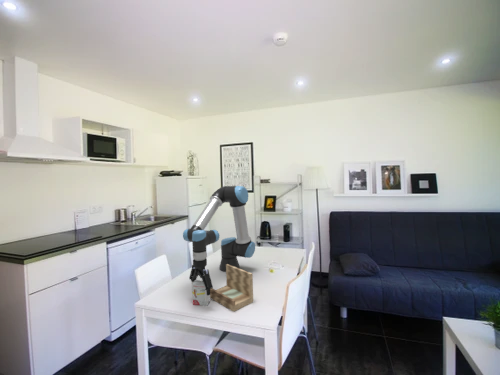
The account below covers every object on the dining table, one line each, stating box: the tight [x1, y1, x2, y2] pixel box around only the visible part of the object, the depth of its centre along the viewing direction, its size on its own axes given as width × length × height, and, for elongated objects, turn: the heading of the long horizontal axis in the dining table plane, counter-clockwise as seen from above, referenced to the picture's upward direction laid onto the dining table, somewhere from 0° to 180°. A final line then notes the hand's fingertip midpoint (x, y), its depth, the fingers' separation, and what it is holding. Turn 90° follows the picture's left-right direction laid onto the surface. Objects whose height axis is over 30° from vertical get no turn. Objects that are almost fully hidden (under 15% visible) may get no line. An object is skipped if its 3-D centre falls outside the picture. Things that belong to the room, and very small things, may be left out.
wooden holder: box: [210, 264, 254, 312], centre depth 141 cm, size 22×14×16 cm, turn 43°
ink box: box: [191, 279, 211, 306], centre depth 138 cm, size 9×5×12 cm, turn 79°
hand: (200, 296), depth 138 cm, fingers open, 13 cm apart
